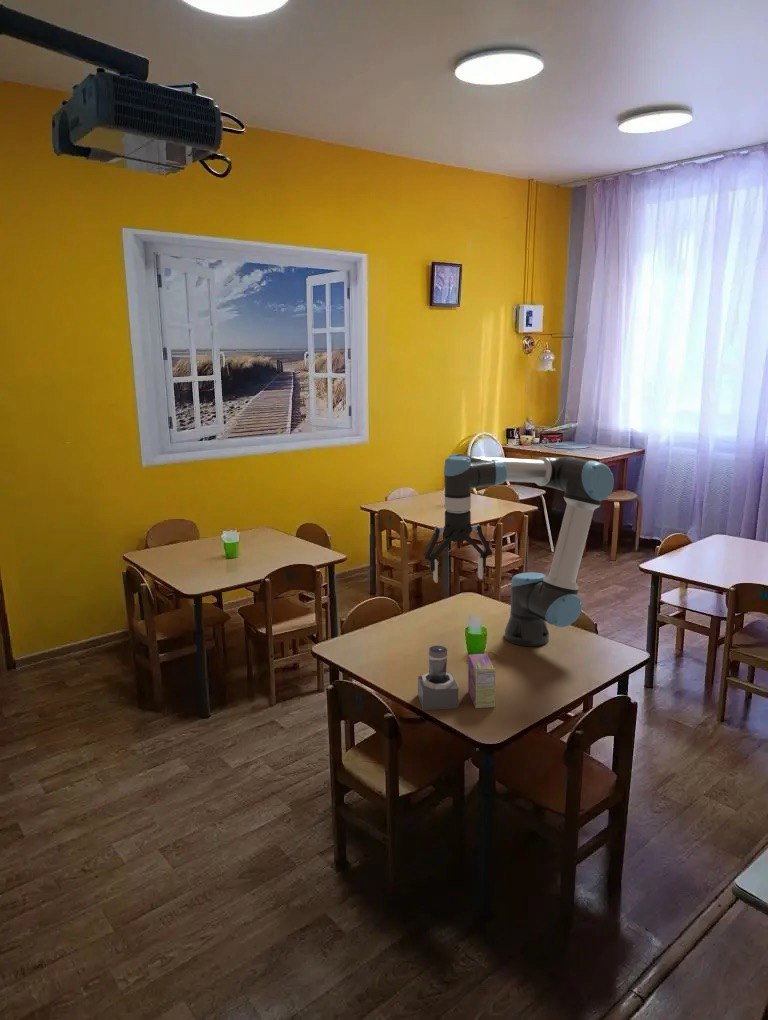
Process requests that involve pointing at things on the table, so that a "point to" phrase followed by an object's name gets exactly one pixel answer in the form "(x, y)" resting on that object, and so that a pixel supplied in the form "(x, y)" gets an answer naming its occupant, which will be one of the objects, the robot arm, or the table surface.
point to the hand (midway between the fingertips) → (458, 579)
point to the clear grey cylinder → (437, 664)
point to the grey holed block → (437, 693)
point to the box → (481, 680)
